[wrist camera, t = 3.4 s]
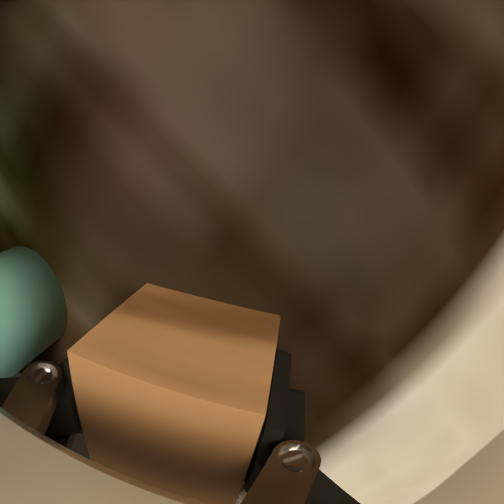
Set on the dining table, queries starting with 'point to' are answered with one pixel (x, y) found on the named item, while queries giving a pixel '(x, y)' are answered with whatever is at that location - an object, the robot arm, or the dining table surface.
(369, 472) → the dining table surface
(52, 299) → the mint rounded capsule part
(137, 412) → the walnut cube
